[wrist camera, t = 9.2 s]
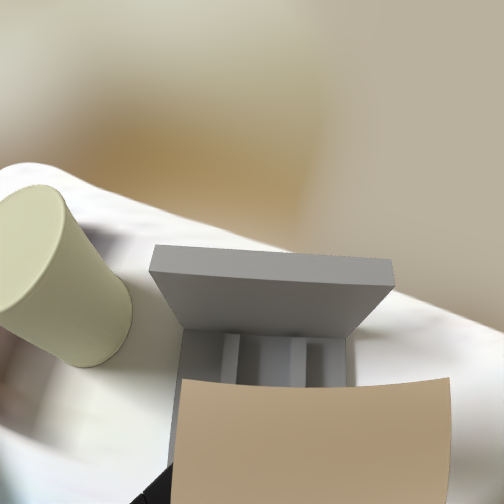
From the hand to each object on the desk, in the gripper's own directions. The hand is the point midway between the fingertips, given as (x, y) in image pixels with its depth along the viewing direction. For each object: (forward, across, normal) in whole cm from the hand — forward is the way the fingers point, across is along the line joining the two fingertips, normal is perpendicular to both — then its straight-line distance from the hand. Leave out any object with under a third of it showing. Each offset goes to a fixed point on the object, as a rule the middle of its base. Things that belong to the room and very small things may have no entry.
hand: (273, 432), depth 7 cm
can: (+14, +15, +5) cm, 22 cm away
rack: (+9, 0, +10) cm, 14 cm away
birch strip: (+3, 0, +5) cm, 6 cm away
